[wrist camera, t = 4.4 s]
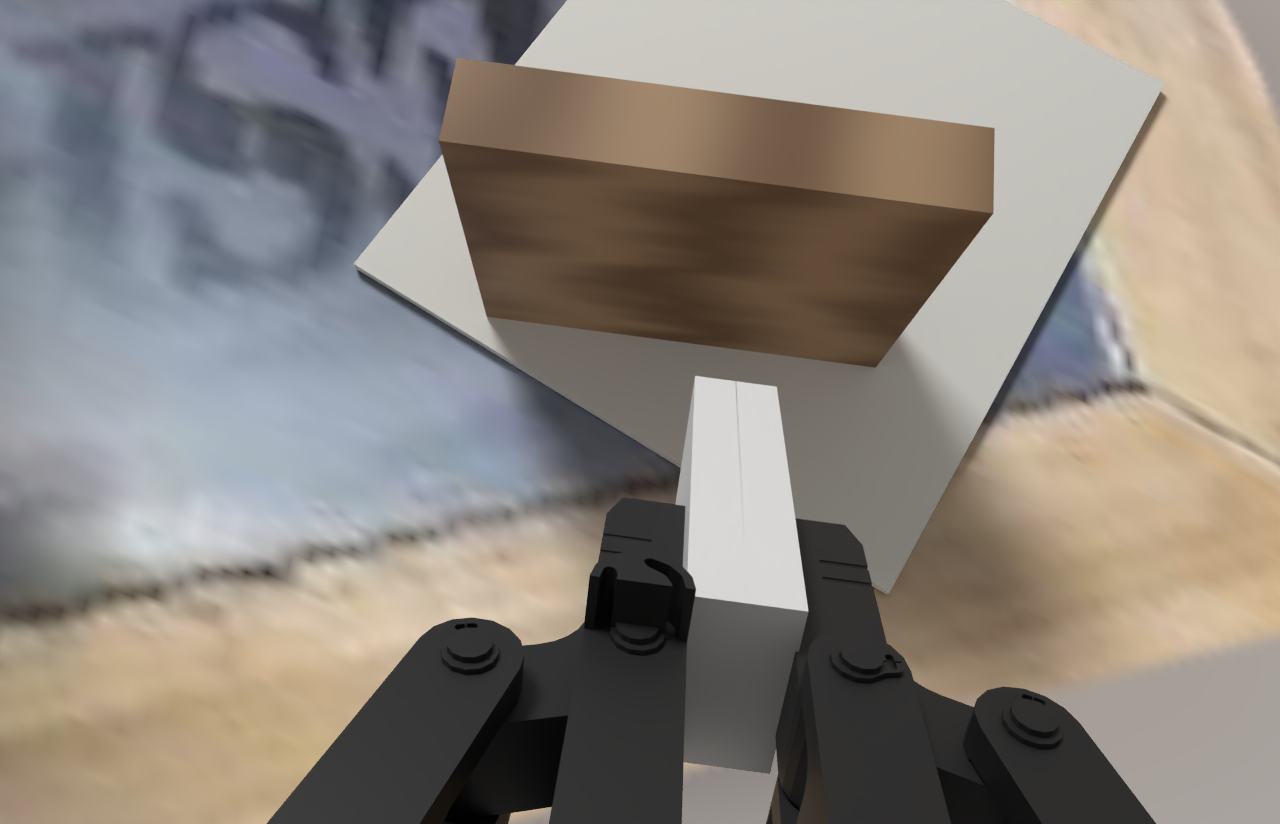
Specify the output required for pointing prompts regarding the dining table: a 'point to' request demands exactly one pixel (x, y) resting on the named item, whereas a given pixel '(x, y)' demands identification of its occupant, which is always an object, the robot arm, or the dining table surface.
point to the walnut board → (707, 210)
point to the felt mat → (948, 321)
